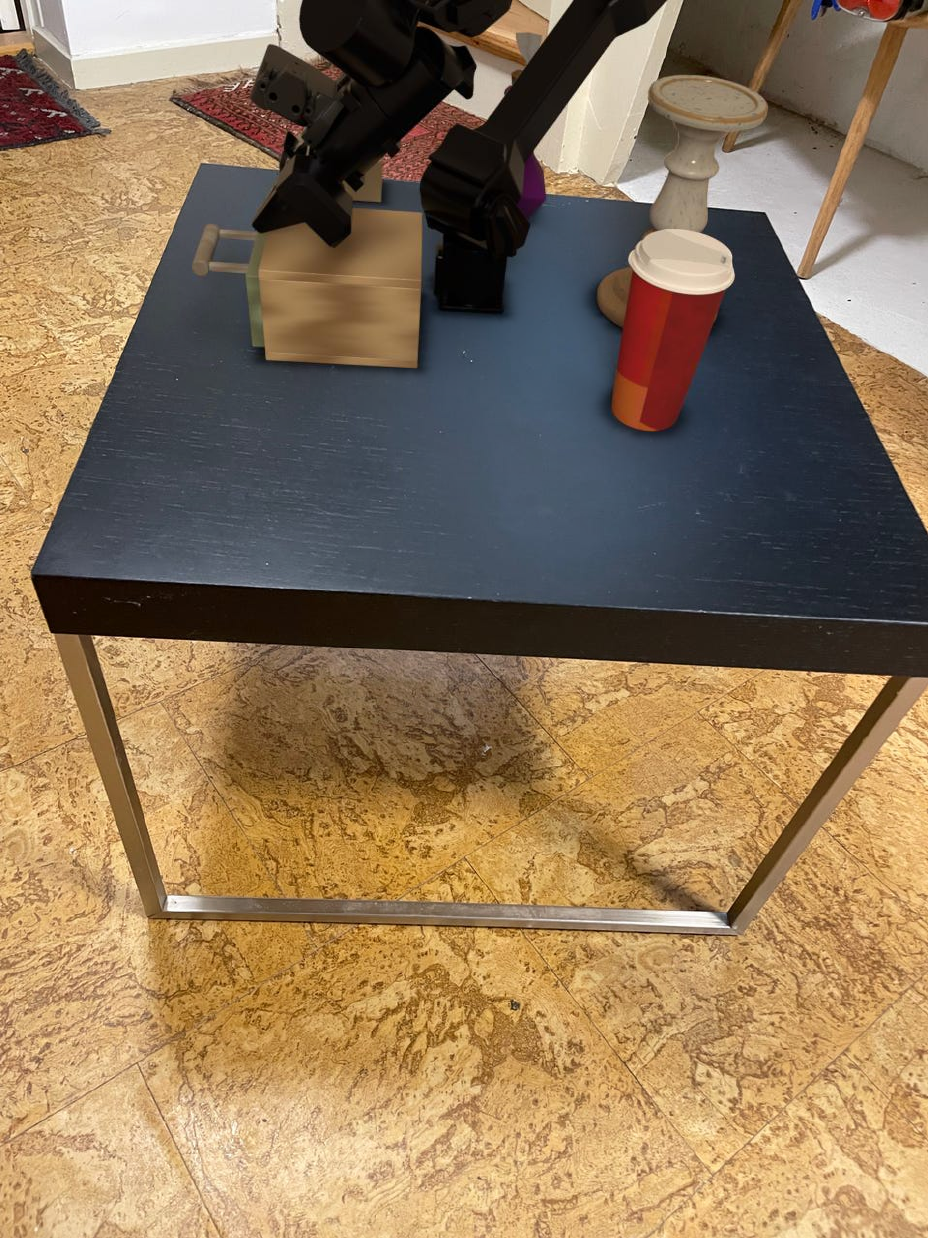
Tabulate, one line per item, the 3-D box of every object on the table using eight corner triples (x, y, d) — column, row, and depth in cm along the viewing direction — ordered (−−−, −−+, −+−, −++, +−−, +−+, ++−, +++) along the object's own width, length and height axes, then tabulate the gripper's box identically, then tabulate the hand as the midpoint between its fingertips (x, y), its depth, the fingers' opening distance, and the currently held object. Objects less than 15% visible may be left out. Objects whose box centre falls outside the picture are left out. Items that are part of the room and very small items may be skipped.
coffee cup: (697, 398, 87) (746, 239, 76) (681, 449, 81) (731, 286, 70) (608, 375, 88) (643, 216, 77) (586, 423, 83) (621, 260, 72)
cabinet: (265, 359, 85) (258, 269, 79) (280, 288, 94) (274, 202, 87) (417, 368, 86) (421, 280, 80) (418, 297, 95) (422, 212, 88)
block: (382, 184, 111) (382, 144, 108) (380, 202, 108) (381, 161, 105) (342, 182, 111) (342, 141, 107) (340, 199, 108) (339, 157, 104)
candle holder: (737, 310, 98) (804, 100, 83) (676, 355, 91) (737, 136, 76) (637, 265, 103) (684, 59, 88) (572, 305, 96) (610, 90, 81)
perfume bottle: (542, 227, 107) (568, 50, 94) (476, 222, 107) (492, 43, 93) (539, 198, 112) (563, 25, 99) (476, 192, 112) (492, 19, 98)
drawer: (196, 343, 85) (186, 271, 80) (216, 279, 92) (207, 210, 87) (392, 354, 86) (394, 284, 81) (395, 290, 93) (397, 222, 88)
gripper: (318, -24, 77) (197, 111, 84) (299, 56, 64) (159, 207, 72) (412, 88, 83) (292, 205, 91) (411, 181, 71) (272, 308, 78)
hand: (256, 227), depth 82 cm, fingers closed
